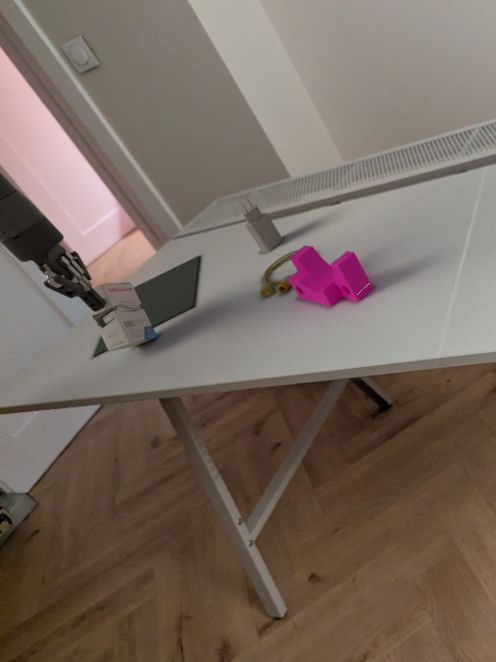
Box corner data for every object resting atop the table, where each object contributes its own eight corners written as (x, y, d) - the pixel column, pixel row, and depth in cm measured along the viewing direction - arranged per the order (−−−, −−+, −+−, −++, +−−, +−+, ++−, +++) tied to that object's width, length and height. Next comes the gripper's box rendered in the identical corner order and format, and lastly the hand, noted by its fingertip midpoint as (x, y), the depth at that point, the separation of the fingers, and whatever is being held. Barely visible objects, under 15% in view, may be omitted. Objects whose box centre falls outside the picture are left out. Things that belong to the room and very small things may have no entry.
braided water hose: (241, 299, 108) (236, 291, 106) (288, 254, 117) (283, 246, 116) (283, 298, 101) (278, 290, 100) (329, 251, 111) (324, 243, 110)
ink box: (137, 346, 108) (111, 291, 106) (158, 337, 107) (133, 281, 106) (107, 352, 99) (78, 292, 98) (131, 343, 99) (102, 282, 98)
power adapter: (284, 239, 126) (255, 192, 118) (270, 252, 122) (240, 205, 115) (275, 240, 127) (246, 194, 120) (261, 253, 124) (230, 206, 117)
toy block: (300, 298, 99) (278, 265, 94) (324, 278, 102) (304, 245, 97) (348, 311, 89) (326, 274, 85) (373, 289, 92) (354, 252, 88)
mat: (194, 308, 112) (192, 306, 112) (95, 358, 110) (93, 355, 110) (200, 257, 136) (198, 255, 136) (118, 297, 134) (117, 295, 134)
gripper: (12, 224, 92) (90, 302, 102) (-18, 250, 82) (73, 335, 92) (52, 203, 93) (126, 283, 103) (28, 227, 82) (113, 314, 92)
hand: (101, 307), depth 97 cm, fingers closed
